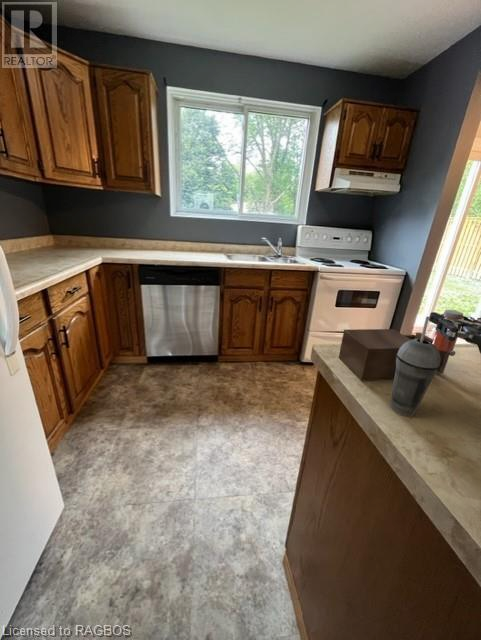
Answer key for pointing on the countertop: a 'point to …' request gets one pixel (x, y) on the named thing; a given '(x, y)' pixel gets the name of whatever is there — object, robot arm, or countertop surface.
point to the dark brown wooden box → (371, 352)
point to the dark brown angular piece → (443, 354)
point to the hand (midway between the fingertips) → (440, 316)
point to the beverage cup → (413, 374)
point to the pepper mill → (442, 341)
